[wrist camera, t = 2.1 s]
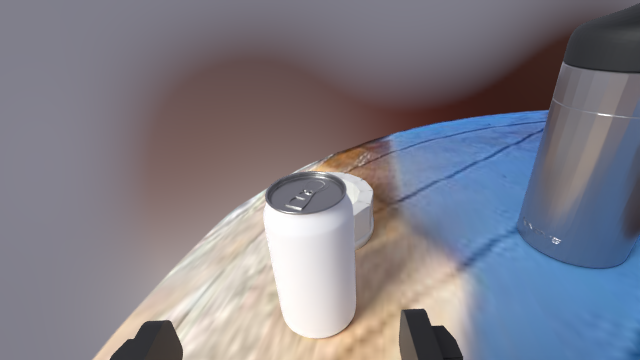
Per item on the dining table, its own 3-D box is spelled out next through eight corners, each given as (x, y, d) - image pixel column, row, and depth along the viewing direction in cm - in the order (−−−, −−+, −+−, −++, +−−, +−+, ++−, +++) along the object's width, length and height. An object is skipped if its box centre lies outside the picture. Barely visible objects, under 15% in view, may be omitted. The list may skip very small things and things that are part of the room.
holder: (354, 194, 43) (353, 165, 41) (390, 243, 34) (391, 209, 31) (276, 210, 41) (271, 181, 39) (291, 268, 31) (285, 233, 29)
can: (367, 292, 28) (367, 176, 22) (336, 355, 23) (325, 227, 17) (306, 271, 31) (292, 163, 25) (267, 323, 26) (238, 203, 20)
